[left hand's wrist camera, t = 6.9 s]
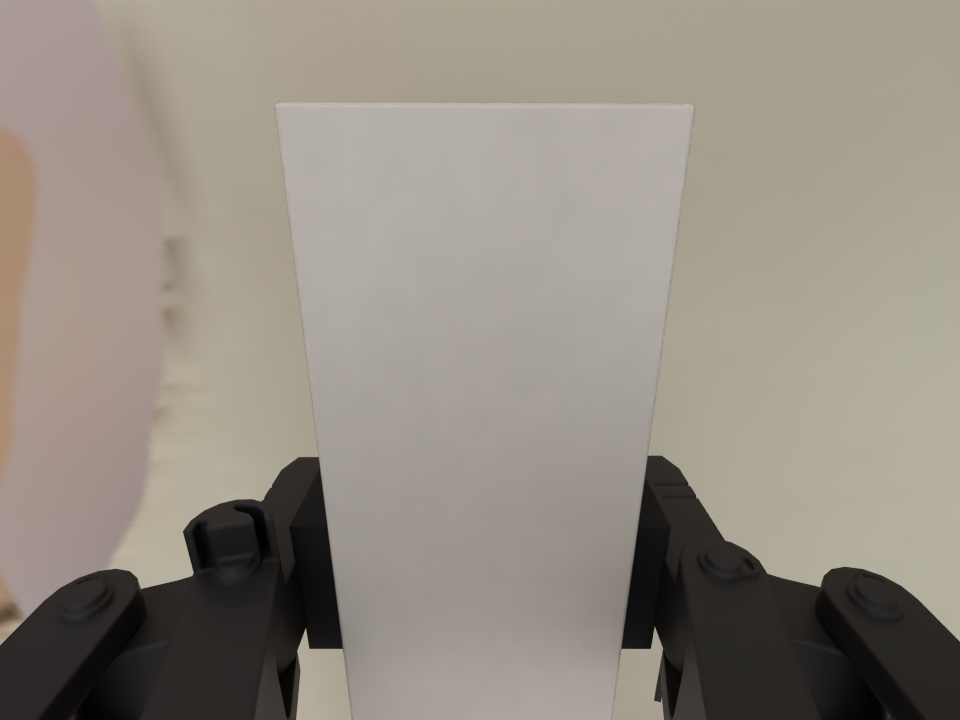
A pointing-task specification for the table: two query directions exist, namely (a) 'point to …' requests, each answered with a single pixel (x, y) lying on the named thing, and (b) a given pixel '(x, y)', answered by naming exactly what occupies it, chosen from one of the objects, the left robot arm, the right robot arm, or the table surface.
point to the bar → (483, 386)
